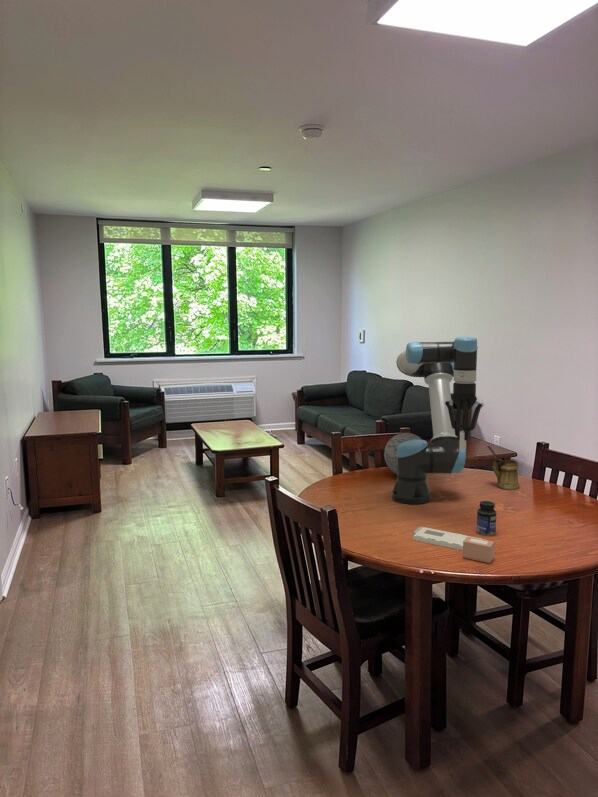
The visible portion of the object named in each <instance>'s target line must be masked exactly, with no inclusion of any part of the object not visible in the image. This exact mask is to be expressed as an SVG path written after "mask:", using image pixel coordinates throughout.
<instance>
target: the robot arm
mask: <svg viewBox="0 0 598 797" xmlns="http://www.w3.org/2000/svg"><path fill="white" fill-rule="evenodd" d="M478 349H479V347H478V340H477V337H475V336H473V337H472V336H459V337H455V339H454V341H433V342H432V341H429V342H428V341H425V342H424V341H421V342H420V341H414V342H407V344H406V348H405V350H404V351H402V352H401V353H400V354H399V355H398V356H397V358H396V367H397V369H398V371H399V372H401V373H402V374H404V375H406V376H407V377H411V378H423V379H424V383H425V385H428V393H429V403H430V404H429V405H430V413H431V414H430V415H431V424H432V438H431V439H430V441H429V443H428V442H427V440H424V439H422V440H409V441H405V442H402V443H400V444H399V445H398V448H397V474H396V480H395V483H394V486H393V489H392V492H391V495H392V496H391V497H392V500H394V501H395V502H397V503H401V504H407V505H421V504H427V503H428V502H430V501H431V491H430V488H429V484H428V482H427V474H450V475H451V474H460V473H461V472H462V471H463V470H464V468H465V464H466V459H467V458H466V457H467V441H469V440H470V432H471V431H474V430H475V429H476V426H477V423H478V422H477V421H478V420H479V415H480V413H481V412H480V411H481V409H482V408H483V407H484V402H480V400H478V398H477V395H476V394H477V383H476V382H477V365H478V364H477V362H478ZM452 381H454V383H453V385H452V389H453V390H452V394H451V386H450V383H451V382H452ZM454 405H455V407H456V412H457V413H456V412H455V408H454ZM473 406H474V407H475V408H474V411H473V414H472V418H471V412H472V408H473ZM456 414H457V415H456ZM463 418H464V419H463ZM463 420H464V423H463ZM463 425H464V426H463ZM456 432H457V433H456Z"/></svg>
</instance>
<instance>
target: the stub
mask: <svg viewBox="0 0 598 797" xmlns="http://www.w3.org/2000/svg"><path fill="white" fill-rule="evenodd" d="M473 537H474V536H471V537H467V538H466V539H465V540H464V541H463V551H462V558H463V559H469V560H474V561H478V562H483V563H487V564H491V562H492V561H493V560H494V559H495V543H496V542H495V541H492V540H487V539H484V538H481V539H478V538H479V537H476V538H473ZM483 539H484V540H483Z"/></svg>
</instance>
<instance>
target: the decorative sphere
mask: <svg viewBox="0 0 598 797" xmlns="http://www.w3.org/2000/svg"><path fill="white" fill-rule="evenodd" d="M409 440H423V439H422V438H421V437H420V436H418V435H416V434H414V433H411V432H401V433H398V434H396V435H393V436H392V437H391V438H390V439H389V440H388V441H387V443H386V445H385V448H384V453H383V456H384V461H385V464H386V466H387V468H388V469H389V470H390V471H391V472H392V473H394V474H396V475H397V448H398V445H399V444H400V443H402V442H405V441H409Z"/></svg>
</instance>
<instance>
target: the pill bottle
mask: <svg viewBox="0 0 598 797" xmlns="http://www.w3.org/2000/svg"><path fill="white" fill-rule="evenodd" d="M479 507H480V508H478V509H477V512H476V513H477V514H476V533H477V534H479V535H481V536H488V537H489V536H490V537H493V536H496V534H497V511H496V510H495V502H493V501H489V500H480V501H479Z"/></svg>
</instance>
